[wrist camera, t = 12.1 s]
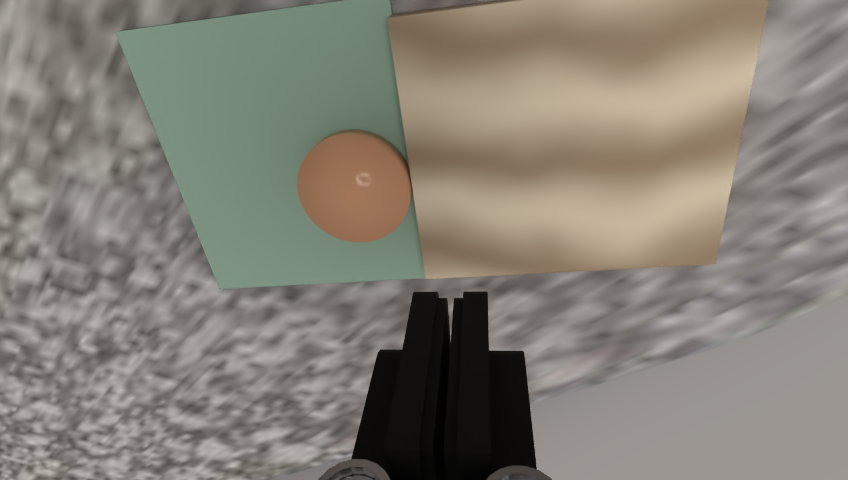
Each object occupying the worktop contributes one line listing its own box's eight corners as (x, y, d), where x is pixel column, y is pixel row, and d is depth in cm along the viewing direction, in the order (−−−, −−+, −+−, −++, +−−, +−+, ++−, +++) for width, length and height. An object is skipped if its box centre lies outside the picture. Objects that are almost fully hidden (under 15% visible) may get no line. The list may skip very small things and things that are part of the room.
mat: (119, 31, 28) (115, 31, 27) (390, -7, 25) (389, -6, 25) (222, 285, 36) (219, 288, 36) (430, 274, 34) (429, 277, 34)
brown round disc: (283, 157, 30) (275, 165, 29) (379, 109, 28) (375, 116, 27) (340, 246, 33) (334, 257, 32) (431, 208, 31) (429, 218, 30)
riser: (392, 14, 26) (387, 17, 24) (753, -34, 23) (775, -34, 22) (428, 263, 34) (425, 279, 32) (702, 247, 31) (715, 264, 29)
